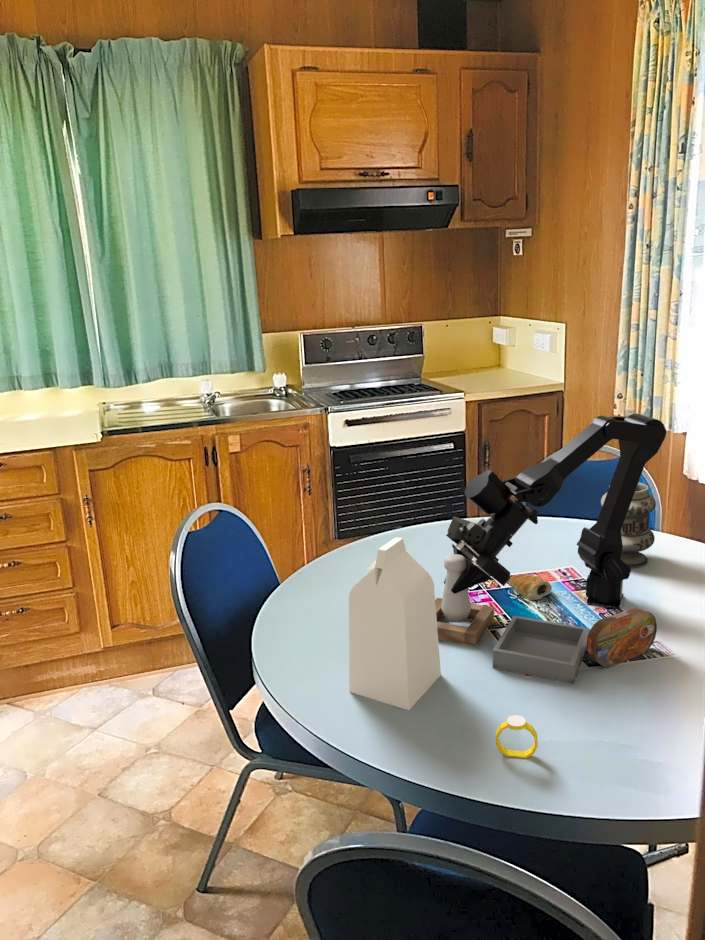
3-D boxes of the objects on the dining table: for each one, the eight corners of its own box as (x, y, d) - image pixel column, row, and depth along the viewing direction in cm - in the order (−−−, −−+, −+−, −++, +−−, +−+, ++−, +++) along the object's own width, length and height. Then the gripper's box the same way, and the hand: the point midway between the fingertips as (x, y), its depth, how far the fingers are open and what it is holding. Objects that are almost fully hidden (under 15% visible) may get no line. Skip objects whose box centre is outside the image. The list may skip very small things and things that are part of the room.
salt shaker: (470, 625, 147) (469, 563, 143) (440, 624, 148) (438, 562, 144) (471, 611, 152) (471, 551, 149) (443, 610, 154) (441, 550, 150)
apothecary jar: (607, 546, 186) (611, 475, 181) (659, 555, 179) (664, 482, 174) (590, 563, 177) (594, 489, 172) (644, 574, 170) (649, 497, 165)
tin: (595, 673, 133) (597, 629, 130) (582, 664, 135) (584, 622, 133) (657, 649, 139) (660, 607, 137) (643, 642, 142) (646, 600, 139)
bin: (587, 645, 142) (588, 628, 141) (573, 683, 130) (573, 665, 129) (513, 631, 148) (513, 615, 147) (492, 667, 136) (492, 650, 135)
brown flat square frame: (493, 618, 153) (494, 607, 153) (475, 646, 143) (475, 634, 142) (437, 608, 158) (437, 597, 158) (416, 635, 148) (415, 623, 148)
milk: (409, 710, 125) (404, 563, 117) (349, 691, 131) (341, 550, 123) (441, 674, 134) (438, 536, 127) (384, 659, 140) (378, 526, 133)
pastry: (501, 587, 167) (501, 571, 166) (523, 580, 171) (524, 564, 170) (532, 603, 159) (532, 586, 158) (555, 594, 163) (555, 578, 162)
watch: (496, 761, 112) (493, 725, 110) (497, 749, 114) (494, 714, 113) (538, 762, 111) (536, 726, 109) (538, 750, 113) (535, 715, 112)
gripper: (454, 489, 153) (404, 548, 154) (494, 519, 136) (437, 585, 136) (491, 520, 157) (442, 578, 158) (534, 553, 140) (479, 617, 141)
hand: (449, 588), depth 148 cm, fingers closed on salt shaker, 3 cm apart
